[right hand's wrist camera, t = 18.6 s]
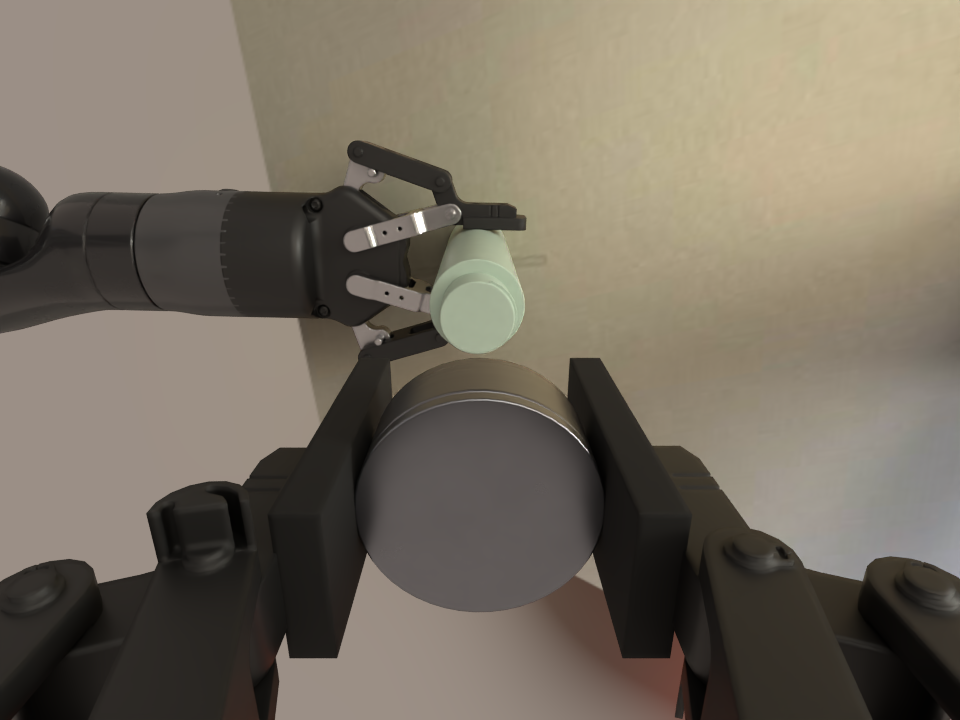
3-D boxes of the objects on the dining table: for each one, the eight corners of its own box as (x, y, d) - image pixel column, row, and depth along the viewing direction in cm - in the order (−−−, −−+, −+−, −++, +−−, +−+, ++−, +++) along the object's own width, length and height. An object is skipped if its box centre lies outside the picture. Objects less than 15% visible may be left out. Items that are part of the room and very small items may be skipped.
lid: (466, 311, 11) (463, 345, 9) (629, 444, 12) (659, 501, 10) (332, 466, 12) (303, 527, 10) (491, 575, 13) (493, 649, 11)
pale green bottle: (488, 284, 41) (497, 383, 23) (438, 257, 40) (408, 339, 22) (516, 234, 40) (547, 298, 22) (464, 206, 39) (454, 248, 21)
